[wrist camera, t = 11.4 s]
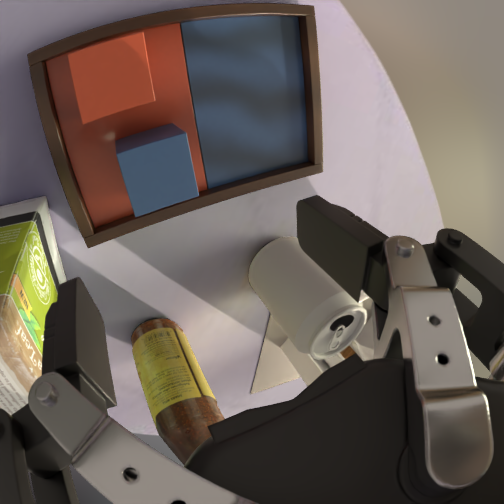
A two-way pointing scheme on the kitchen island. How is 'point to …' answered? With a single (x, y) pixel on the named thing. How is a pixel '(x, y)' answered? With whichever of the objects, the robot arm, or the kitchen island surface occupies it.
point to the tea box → (25, 295)
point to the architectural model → (304, 356)
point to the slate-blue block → (156, 168)
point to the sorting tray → (191, 108)
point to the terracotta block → (111, 77)
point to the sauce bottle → (174, 386)
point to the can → (305, 299)
